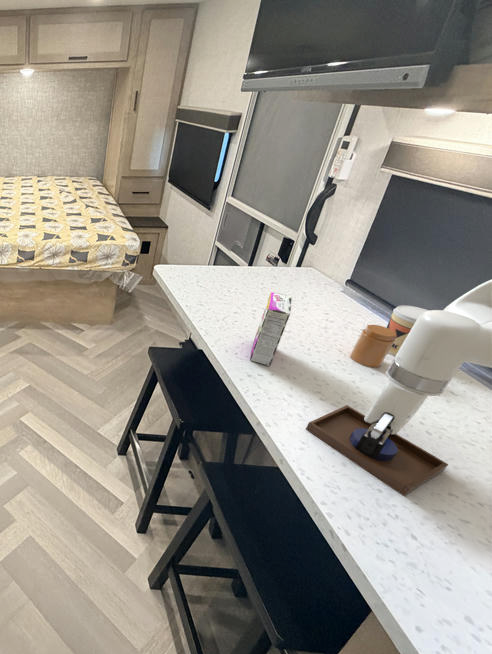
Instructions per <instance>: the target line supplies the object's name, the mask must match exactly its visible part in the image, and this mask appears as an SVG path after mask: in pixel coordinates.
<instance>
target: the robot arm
mask: <svg viewBox="0 0 492 654" xmlns="http://www.w3.org/2000/svg"><path fill="white" fill-rule="evenodd" d="M464 363H470V364H474V365H477V366H482V367H486V368H490V369H492V279H490V280H489V279H488V280H486V281H485V282H483V283H481V284H479V285H476V286H475V287H474V288H472V289H471V290H469V291H467V292H466V293H464V294H462V295H461V296H459V297H458V298H456V299H455V300H454V301H452V302H451V303H449V304H448V305H447V306H446V307H445V308H444V309H432V310H429V311H426V312H424V313H422V314H421V315H420V316H419V317H418V319H417V320H416V322H415V324H414V325H413V327H412V329H411V331H410V332H409V334H408V336H407V337H406V339H405V341H404V342H403V344H402V346H401V348H400V349H399V351H398V353H397V354H396V356H394V358H393V359H392V361H391V362H390V364H389V366H388V368H387V370H386V371H385V375H386V377H387V378H388V379H389V380H388V381H387V382H386V384H385V385H384V386H383V388H382V389H381V391H380V393H379V394H378V396H377V398H376V399H375V401H374V402H373V404H372V406H371V407H370V408H369V410H368V412H367V413H366V415H365V418H364V420H365V422H368V423H372V425H371V426H370V428H369V429H368V430H367V432H366V433H364V434H363V436H362V437H361V439H360V441H359V442H358V444H357V445H356V449H357V450H359V451H361V452H362V453H364V454H366V455H368V456H370V457H372V458H374V459H376V458H377V456H378V455H379V453H380V452H381V450H382V449H383V447H384V446H385V443H384V442H385V441H386V439H387V438H388V436H391V437H394V436H395V434H397V435H398V433H399V432H400V431H401V430H402V429H403V428H404V427H405V426H406V425H407V424H408V423H409V422H410V420H411V419H412V418H413V417H414V416H415V415H416V413H417V412H418V411H419V410H420V409H421V407H422V406H423V404H424V403H425V402H426V400H427V398H428V397H429V396H430V397H437V396H440V395H442V394H443V393H444V391H445V390H446V388H447V387H448V385H450V382H451V381H452V380H453V378H454V377H455V375H456V374H457V372H458V371H459V369H460V368H461V366H462V365H463V364H464ZM382 433H385V435H384V436H383V438H382V435H381V434H382Z"/></svg>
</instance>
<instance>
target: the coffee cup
mask: <svg viewBox="0 0 492 654" xmlns="http://www.w3.org/2000/svg"><path fill="white" fill-rule="evenodd" d="M426 311H430V310H428V309H425V308H422V307H419V306H415V305H399V306H396V307H395V308H393V311H392V314H391V316H390V319H389V321H388V323H387V325H386V326H385V327H386V328H388V329H391V330H392V331H394V332H395V333H396V337H395V342H394V343H393V345H392V347H391V349H390V350H389V352H388V355H392V356H394V357H395V356H396V354H397V353H398V351H399V349H400V348H401V346H402V344H403V342H404V341H405V339H406V337H407V336H408V334H409V332H410V331H411V329H412V327H413V325H414V324H415V322H416V320H417V319H418V317H419V316H420V315H421V314H422V313H424V312H426Z"/></svg>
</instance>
